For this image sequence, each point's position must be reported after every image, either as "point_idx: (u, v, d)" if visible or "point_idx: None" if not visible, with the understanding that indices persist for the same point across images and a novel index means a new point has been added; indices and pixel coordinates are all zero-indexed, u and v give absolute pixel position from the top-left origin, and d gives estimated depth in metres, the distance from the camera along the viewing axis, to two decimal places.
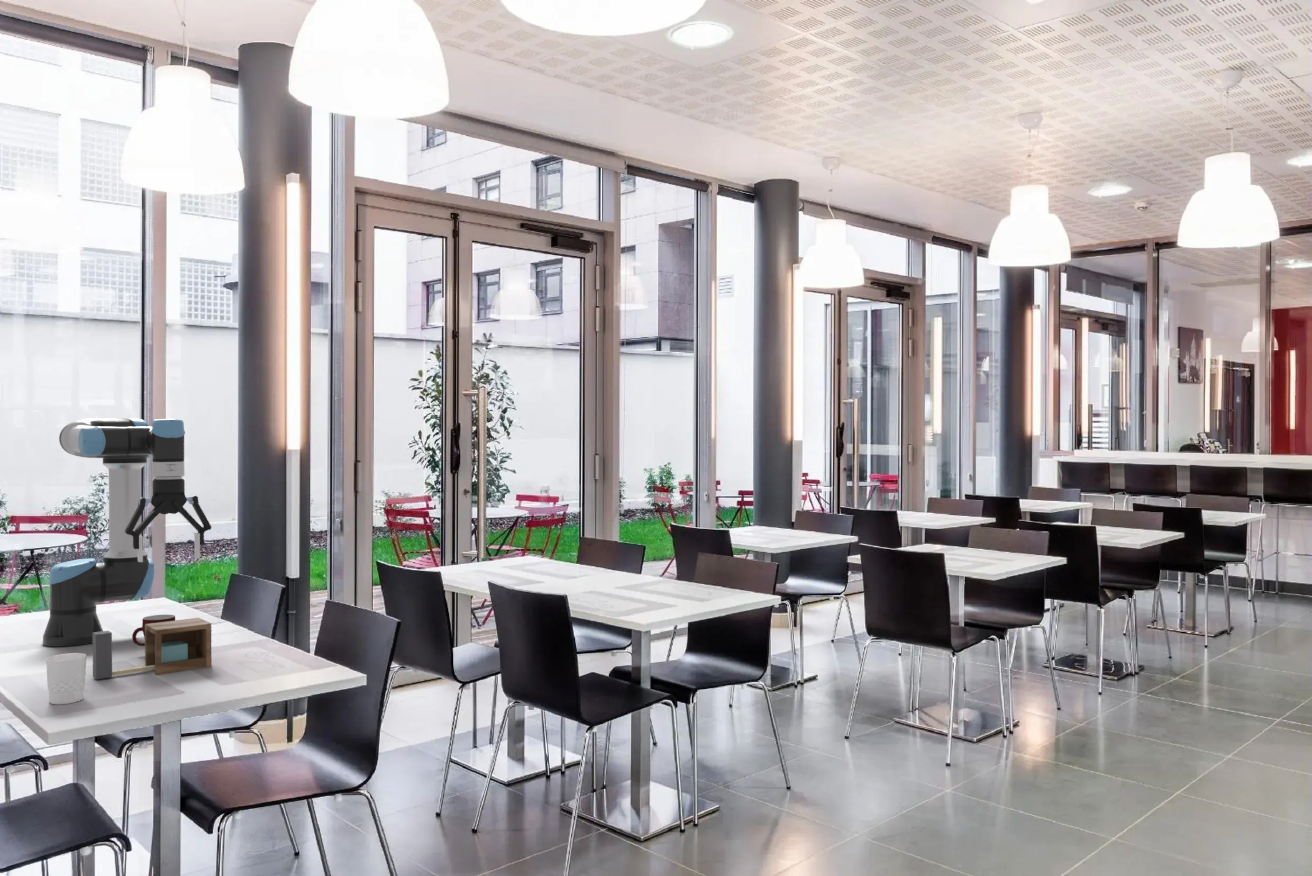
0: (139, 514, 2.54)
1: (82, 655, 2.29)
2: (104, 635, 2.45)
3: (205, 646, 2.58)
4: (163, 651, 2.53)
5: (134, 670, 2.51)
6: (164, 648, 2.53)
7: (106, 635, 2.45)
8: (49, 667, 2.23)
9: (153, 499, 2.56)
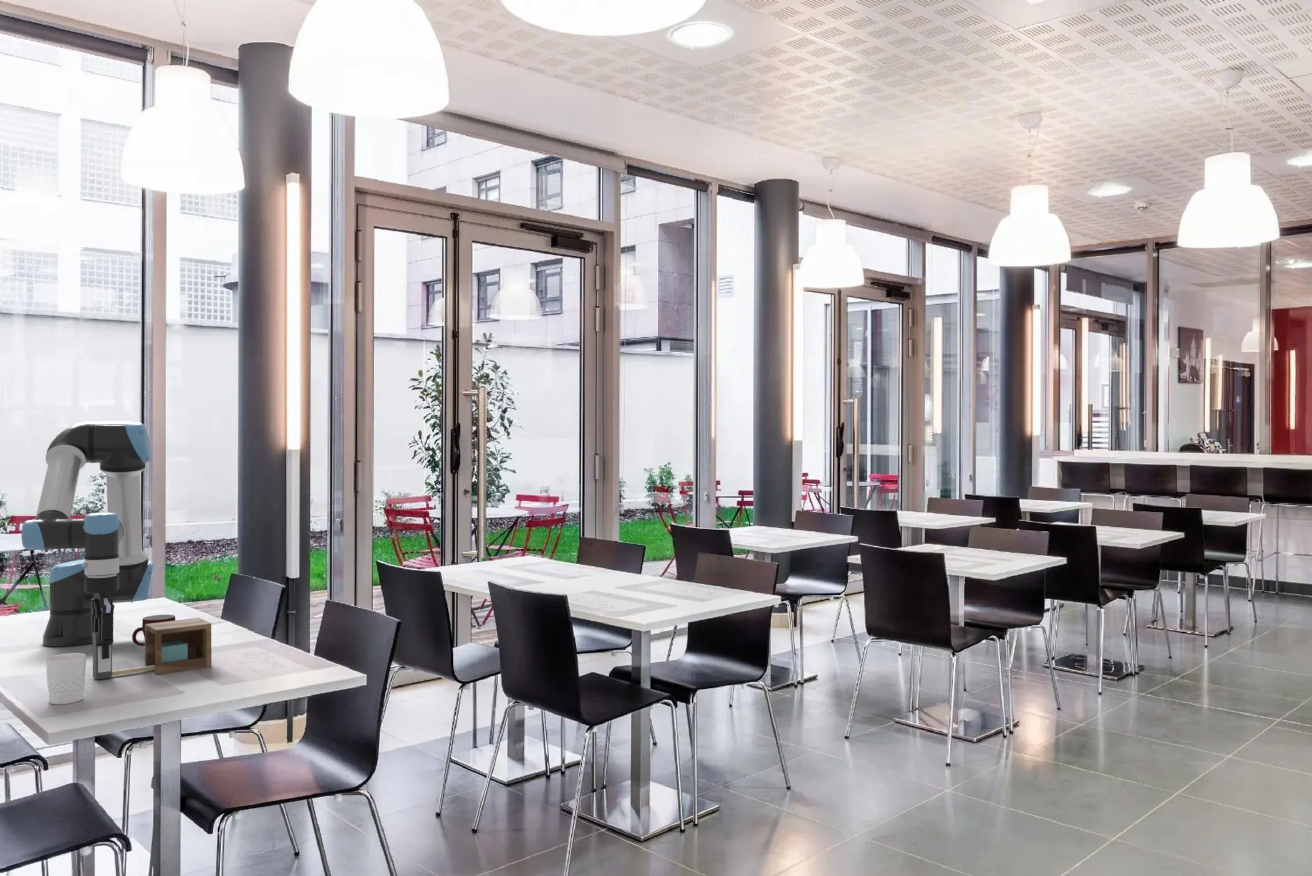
0: (91, 616, 2.49)
1: (82, 655, 2.29)
2: None
3: (205, 646, 2.58)
4: (163, 651, 2.53)
5: (134, 670, 2.51)
6: (164, 648, 2.53)
7: None
8: (49, 667, 2.23)
9: None
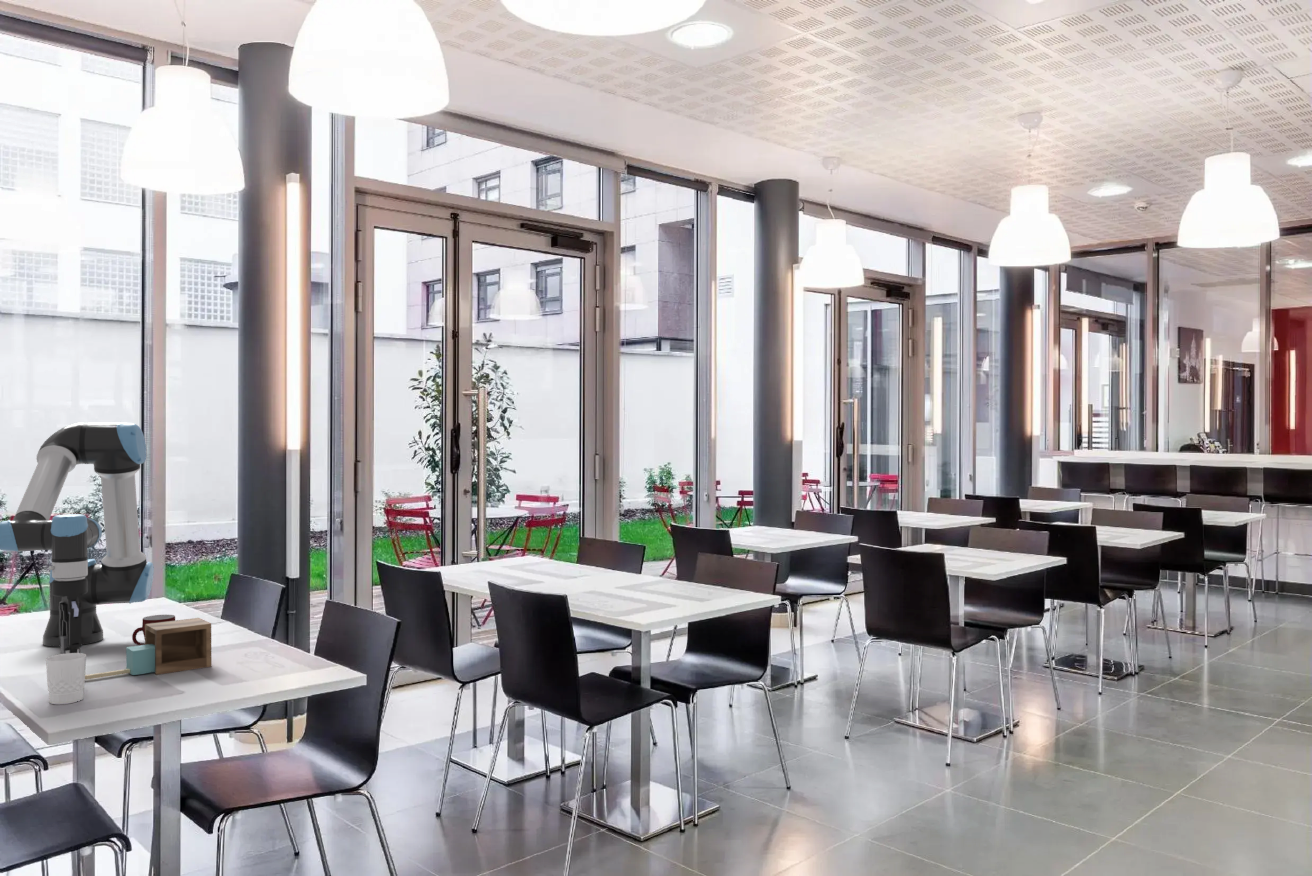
0: (59, 619, 2.44)
1: (82, 655, 2.29)
2: None
3: (205, 646, 2.58)
4: (133, 655, 2.48)
5: (103, 675, 2.46)
6: (134, 652, 2.48)
7: None
8: (49, 667, 2.23)
9: None
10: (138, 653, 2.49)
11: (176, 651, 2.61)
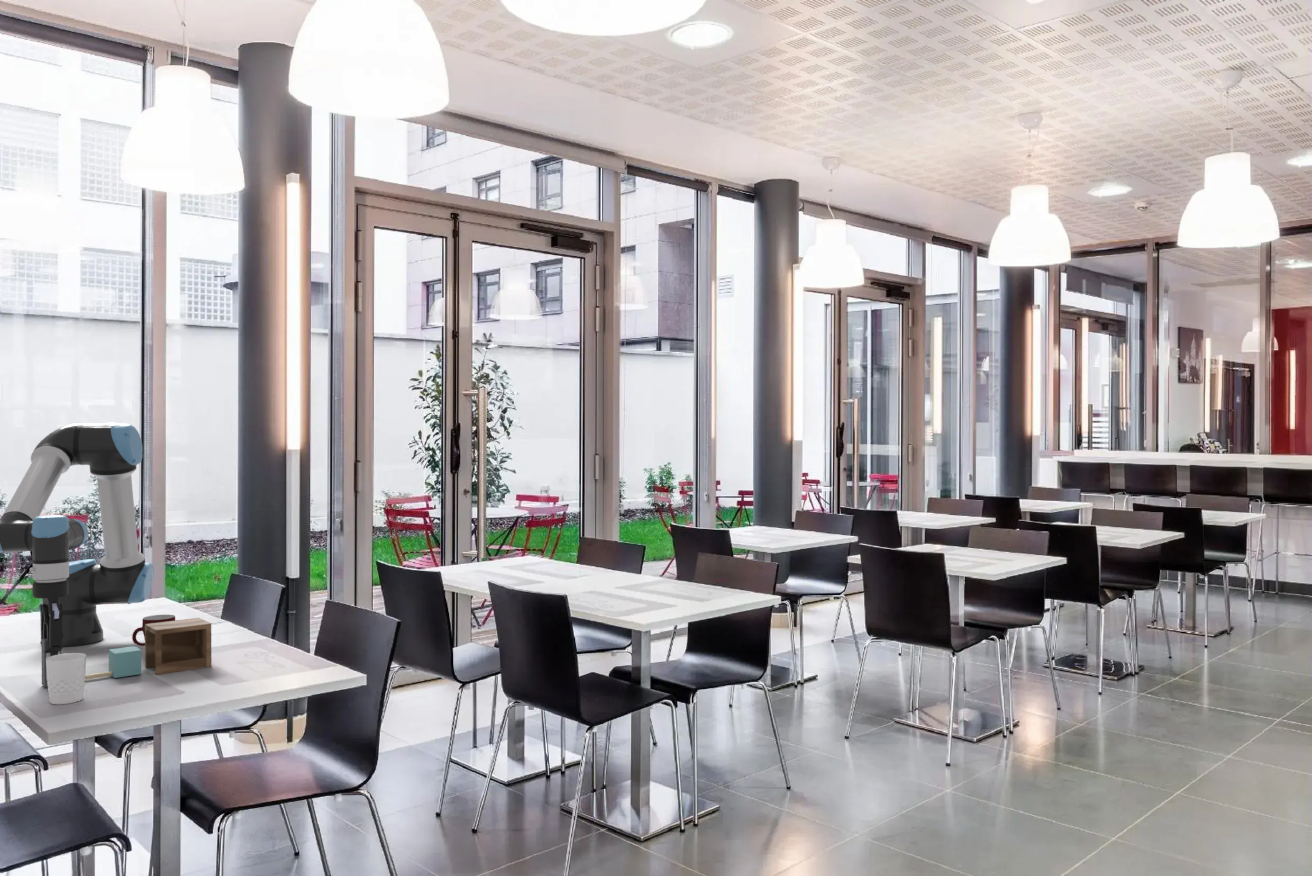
0: (41, 621, 2.42)
1: (82, 655, 2.29)
2: None
3: (205, 646, 2.58)
4: (115, 658, 2.46)
5: (85, 677, 2.43)
6: (116, 655, 2.46)
7: None
8: (49, 667, 2.23)
9: None
10: (120, 655, 2.46)
11: (176, 651, 2.61)
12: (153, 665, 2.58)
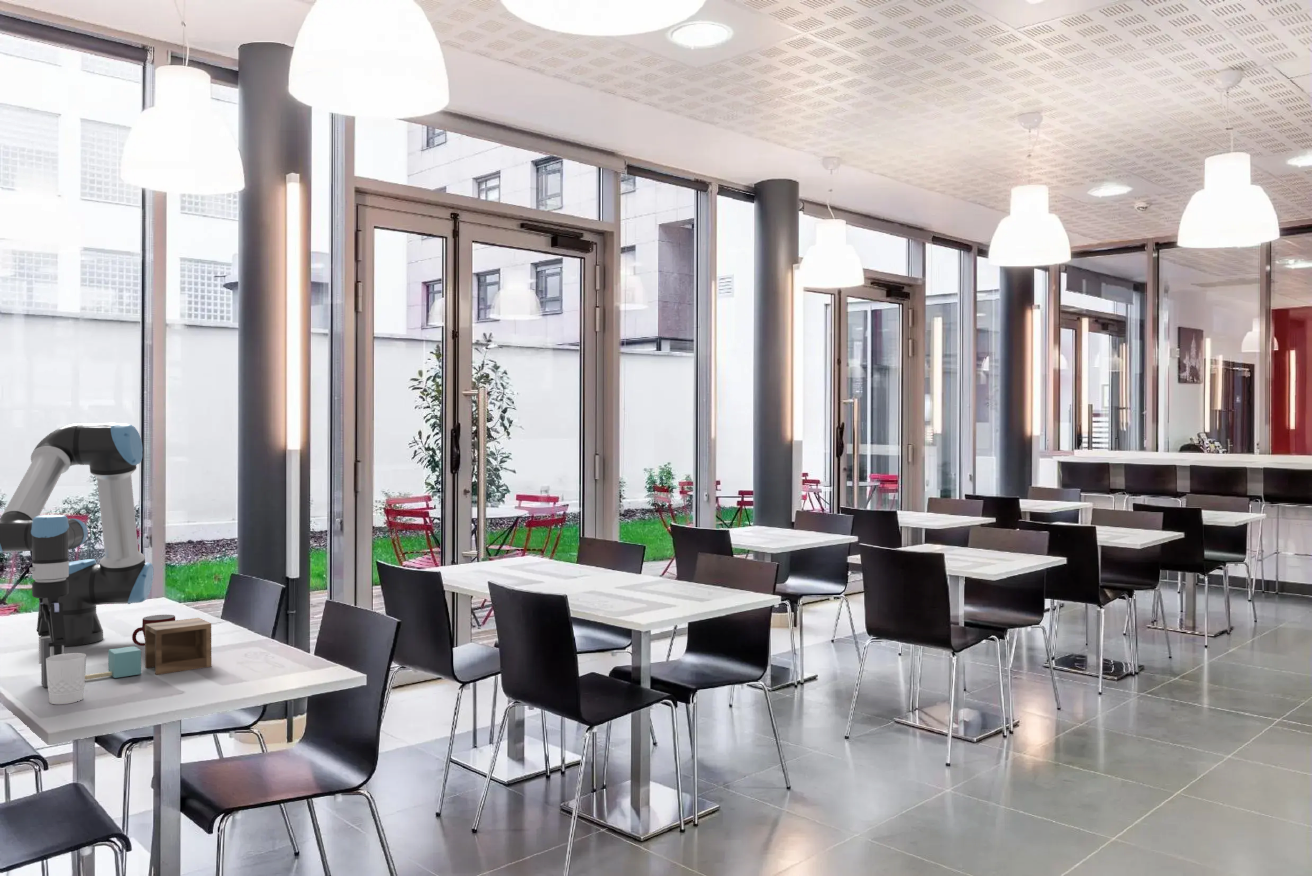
0: (39, 613, 2.43)
1: (82, 655, 2.29)
2: None
3: (205, 646, 2.58)
4: (115, 658, 2.45)
5: (85, 677, 2.43)
6: (116, 655, 2.46)
7: None
8: (49, 667, 2.23)
9: None
10: (120, 655, 2.46)
11: (176, 651, 2.61)
12: (153, 665, 2.58)
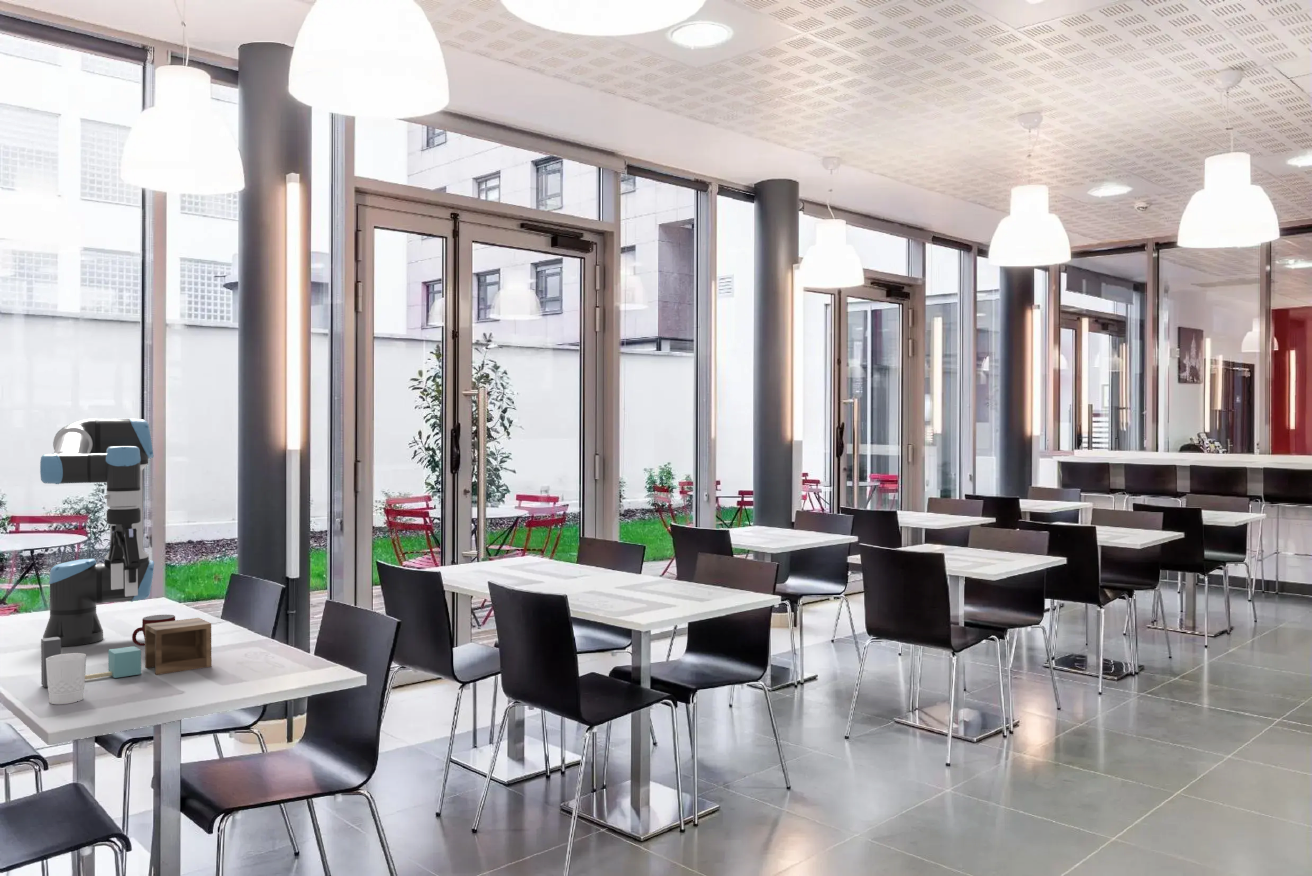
0: (111, 541, 2.54)
1: (82, 655, 2.29)
2: (53, 641, 2.38)
3: (205, 646, 2.58)
4: (115, 658, 2.45)
5: (85, 677, 2.43)
6: (116, 655, 2.46)
7: (55, 641, 2.38)
8: (49, 667, 2.23)
9: None
10: (120, 655, 2.46)
11: (176, 651, 2.61)
12: (153, 665, 2.58)
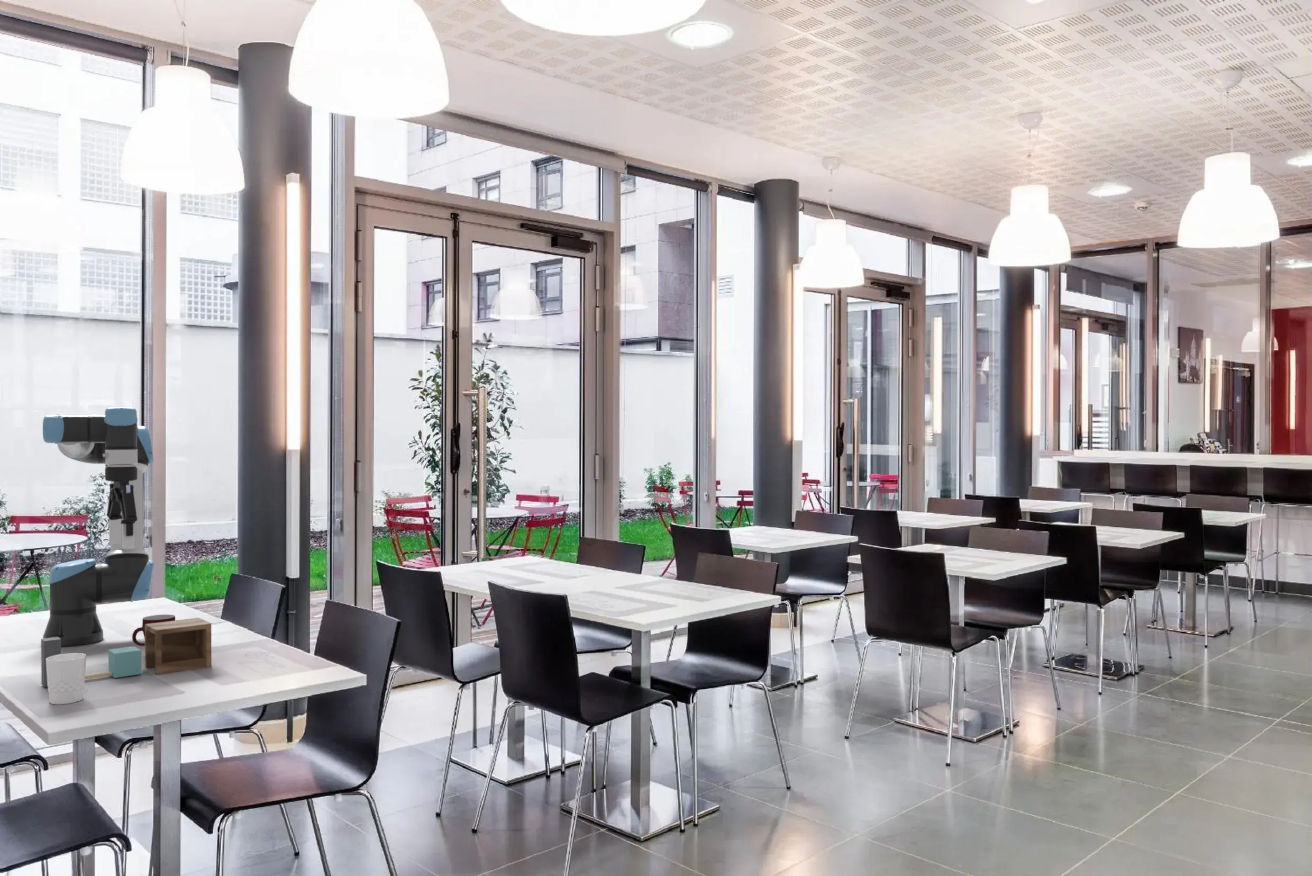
0: (109, 498, 2.67)
1: (82, 655, 2.29)
2: (53, 641, 2.38)
3: (205, 646, 2.58)
4: (115, 658, 2.45)
5: (85, 677, 2.43)
6: (116, 655, 2.46)
7: (55, 641, 2.38)
8: (49, 667, 2.23)
9: None
10: (120, 655, 2.46)
11: (176, 651, 2.61)
12: (153, 665, 2.58)
